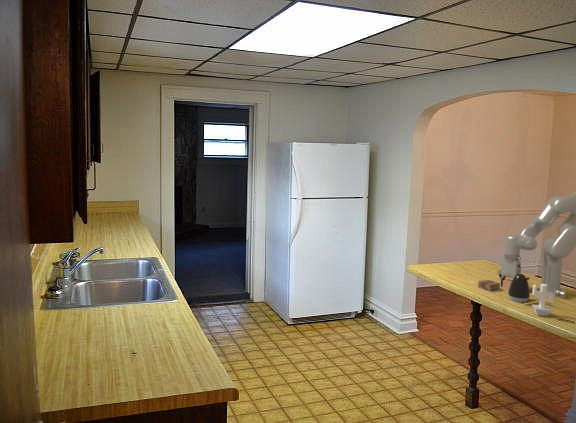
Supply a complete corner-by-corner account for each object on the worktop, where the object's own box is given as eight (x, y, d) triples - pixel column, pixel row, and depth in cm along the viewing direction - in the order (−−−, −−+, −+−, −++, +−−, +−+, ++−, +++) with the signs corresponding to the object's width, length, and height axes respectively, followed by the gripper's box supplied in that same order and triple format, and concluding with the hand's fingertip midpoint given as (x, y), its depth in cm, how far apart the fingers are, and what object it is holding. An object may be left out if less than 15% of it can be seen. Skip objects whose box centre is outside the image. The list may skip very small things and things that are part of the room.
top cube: (515, 290, 282) (516, 281, 281) (510, 291, 279) (510, 282, 279) (507, 287, 286) (508, 279, 285) (502, 288, 284) (503, 280, 283)
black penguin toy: (519, 306, 255) (522, 277, 253) (503, 300, 265) (505, 272, 263) (533, 304, 259) (536, 275, 258) (517, 298, 269) (519, 270, 267)
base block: (499, 290, 280) (499, 283, 280) (489, 291, 276) (490, 284, 276) (487, 286, 287) (487, 279, 286) (477, 288, 283) (478, 281, 282)
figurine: (553, 317, 238) (557, 287, 236) (532, 315, 240) (535, 285, 238) (549, 313, 245) (552, 283, 243) (528, 311, 247) (531, 281, 245)
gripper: (530, 260, 275) (527, 291, 277) (502, 253, 290) (500, 283, 292) (521, 261, 271) (518, 293, 273) (494, 254, 286) (491, 285, 288)
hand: (509, 288), depth 283 cm, fingers open, 7 cm apart
